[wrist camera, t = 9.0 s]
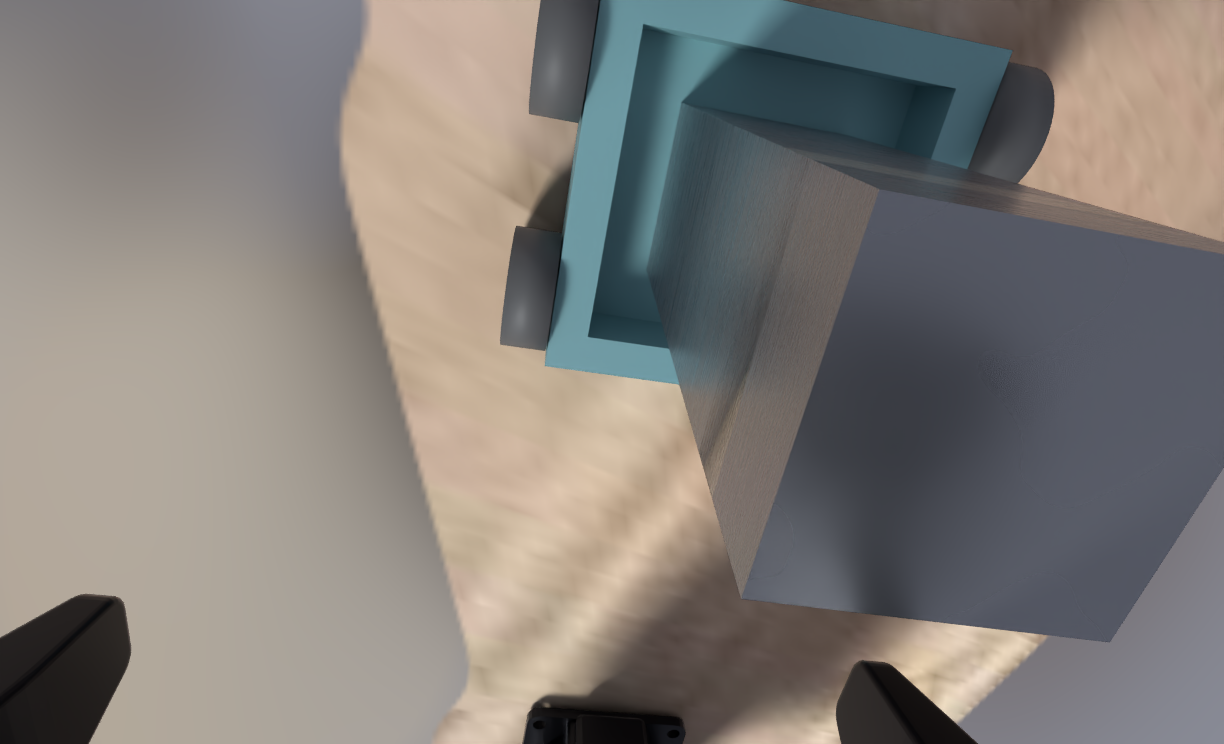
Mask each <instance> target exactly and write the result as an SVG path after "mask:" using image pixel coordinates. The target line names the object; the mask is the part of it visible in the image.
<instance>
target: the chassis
mask: <svg viewBox="0 0 1224 744" xmlns="http://www.w3.org/2000/svg"><path fill="white" fill-rule="evenodd" d="M1012 51H1013V50H1008V49H1004V48H999V47H995V46H990V45H985V44H981V43H976V42H972V41H967V40H963V39H958V38H953V37H949V36H944V35H940V34H935V33H930V32H926V31H921V30H917V29H912V28H907V27H903V26H898V25H894V24H889V23H885V22H880V21H875V20H871V19H866V18H862V17H857V16H852V15H848V14H843V13H839V12H834V11H830V10H825V9H820V8H816V7H811V6H807V5H802V4H797V3H793V2H788V1H784V0H541V2H540V9H539V17H538V24H537V32H536V41H535V49H534V58H533V67H532V77H531V87H530V100H529V114H533V115H538V116H543V117H549V118H554V119H560V120H565V121H570V122H576V123H578V130H577V137H576V143H575V150H574V157H573V163H572V170H571V177H570V183H569V190H568V197H567V203H566V210H565V216H564V223H563V230H562V233H558V232H552V231H546V230H540V229H534V228H528V227H521V226H516V228H515V233H514V238H513V244H512V250H511V256H510V262H509V269H508V276H507V284H506V291H505V299H504V307H503V316H502V325H501V337H500V344H501V345H507V346H514V347H521V348H528V349H535V350H542V351H545V349H546V357H545V366H549V367H556V368H563V369H571V370H578V371H585V372H592V373H600V374H607V375H614V376H622V377H629V378H636V379H643V380H651V381H658V382H665V383H672V384H679V381H678V378H677V374H676V371H675V367H674V364H673V360H672V357H671V353H670V350H669V346H668V343H667V339H666V336H665V332H664V329H663V326H662V322H661V319H660V315H659V312H658V308H657V305H656V301H655V298H654V294H653V291H652V287H651V284H650V280H649V277H648V273H647V270H646V269H647V264H648V259H649V255H650V250H651V245H652V240H653V235H654V231H655V226H656V221H657V216H658V212H659V207H660V202H661V197H662V192H663V188H664V183H665V178H666V173H667V168H668V164H669V159H670V154H671V149H672V145H673V140H674V135H675V130H676V125H677V121H678V116H679V111H680V106H681V103H686V104H692V105H697V106H702V107H707V108H712V109H717V110H722V111H727V112H732V113H737V114H742V115H747V116H753V117H758V118H763V119H768V120H773V121H778V122H783V123H788V124H793V125H798V126H803V127H808V128H814V129H819V130H824V131H829V132H834V133H839V134H844V135H848V136H852V137H855V138H859V139H862V140H866V141H869V142H873V143H876V144H880V145H883V146H887V147H890V148H894V149H897V150H901V151H904V152H908V153H912V154H915V155H919V156H922V157H926V158H929V159H933V160H936V161H940V162H943V163H947V164H950V165H954V166H957V167H961V168H964V169H968V170H971V171H975V172H978V173H982V174H985V175H989V176H992V177H996V178H999V179H1003V180H1006V181H1010V182H1013V183H1018V182H1019V181H1020V180H1021V179H1022V178H1023V177H1024V176H1025V175H1026V173H1027V172H1028V171H1029V169H1030V168H1031V167H1032V165H1033V164H1034V162H1035V161H1036V159H1037V157H1038V155H1039V154H1040V152H1041V150H1042V148H1043V146H1044V143H1045V141H1046V138H1047V136H1048V133H1049V130H1050V127H1051V123H1052V118H1053V113H1054V90H1053V86H1052V83H1051V81H1050V79H1049V77H1048V76H1047V74H1046V73H1045V72H1043V71H1042V70H1040V69H1038V68H1034V67H1029V66H1025V65H1020V64H1015V63H1011V62H1009V59H1010V57H1011V54H1012Z"/></svg>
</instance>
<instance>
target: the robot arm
mask: <svg viewBox="0 0 1224 744" xmlns="http://www.w3.org/2000/svg"><path fill="white" fill-rule="evenodd" d="M130 656H131V643H130V636H129V630H128V623H127V617H126V611H125V606H124V602H123V601H122V600H121V599H120V598H118V597H116V596H106V595H94V594H81V595H78V596H75V597H73V598H71V599H69V600H68V601H65V602H64V603H62V604H60V605H58V606H56V607H55V608H53V609H51V610H49V611H47V612H46V613H44V614H42V615H40V616H38V617H36V618H35V619H33V620H31V621H29V622H27V623H26V624H24V625H22V626H20V627H18V628H17V629H15V630H13V631H11V632H9V633H8V634H6V635H4V636H2V637H1V638H0V744H89V742H90V740H91V738H92V736H93V735H94V733H95V730H96V729H97V727H98V725H99V723H100V721H101V719H102V716H103V715H104V713H105V711H106V709H107V707H108V705H109V703H110V701H111V699H112V697H113V695H114V693H115V691H116V689H117V687H118V685H119V683H120V681H121V679H122V677H123V675H124V673H125V671H126V669H127V666H128V663H129V659H130ZM836 720H837V726H838V731H839V735H840V740H841V744H978V743H977V742H976V741H975V740H974V739H972V738H971V737H970V736H969V735H968V734H967V733H966V732H965V731H964V730H963V729H961V728H960V727H959V726H958V725H957V724H956V723H955V722H954V721H953V720H952V719H951V718H949V717H948V716H947V715H946V714H945V713H944V712H943V711H942V710H941V709H940V708H938V707H937V706H936V705H935V704H934V703H933V702H932V701H931V700H930V699H929V698H927V697H926V696H925V695H924V694H923V693H922V692H921V691H920V690H919V689H918V688H916V687H915V686H914V685H913V684H912V683H911V682H910V681H909V680H908V679H907V678H906V677H904V676H903V675H902V674H901V673H900V672H899V671H898V670H897V669H896V668H894V667H893V666H892V665H890V664H888V663H885V662H876V661H864V660H862V661H859V662H857V663H856V664H855V665H854V667H853V668H852V671H851V673H850V675H849V677H848V680H847V682H846V684H845V686H844V688H843V691H842V693H841V695H840V697H839V700H838V702H837V707H836ZM684 737H685V726H684V722H683V721H682V720H681V719H680V718H677V717H668V716H654V715H640V714H626V713H612V712H598V711H584V710H570V709H556V708H542V707H541V708H535V709H532V710H531V711H530V712H529V713H528V715H527V720H526V726H525V731H524V737H523V742H522V744H682V743H683V740H684Z"/></svg>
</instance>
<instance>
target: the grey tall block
mask: <svg viewBox="0 0 1224 744" xmlns="http://www.w3.org/2000/svg"><path fill="white" fill-rule="evenodd" d="M646 270H647V273H648V277H649V280H650V284H651V287H652V291H653V294H654V298H655V301H656V305H657V308H658V312H659V315H660V319H661V322H662V326H663V329H664V332H665V336H666V339H667V343H668V346H669V350H670V353H671V357H672V360H673V364H674V367H675V371H676V374H677V378H678V381H679V385H680V388H681V392H682V395H683V399H684V402H685V406H686V409H687V413H688V416H689V420H690V423H691V426H692V430H693V433H694V437H695V440H696V444H697V447H698V451H699V454H700V458H701V461H702V465H703V468H704V472H705V475H706V479H707V482H708V486H709V489H710V493H711V496H712V500H713V503H714V507H715V510H716V514H717V517H718V520H719V524H720V527H721V531H722V534H723V538H724V541H725V545H726V548H727V552H728V555H729V559H730V562H731V566H732V569H733V573H734V576H735V580H736V583H737V587H738V590H739V594H740V597H741V599H746V600H754V601H763V602H771V603H780V604H788V605H797V606H805V607H814V608H822V609H831V610H839V611H848V612H856V613H865V614H873V615H882V616H890V617H899V618H907V619H916V620H924V621H933V622H941V623H949V624H958V625H966V626H975V627H983V628H992V629H1000V630H1009V631H1017V632H1026V633H1034V634H1043V635H1051V636H1060V637H1068V638H1077V639H1085V640H1094V641H1102V642H1110V641H1111V640H1112V638H1113V636H1114V635H1115V634H1116V632H1117V630H1118V629H1119V627H1120V626H1121V624H1122V623H1123V621H1124V620H1125V618H1126V617H1127V615H1128V613H1129V612H1130V611H1131V609H1132V607H1133V606H1134V604H1135V603H1136V601H1137V600H1138V598H1139V597H1140V595H1141V594H1142V592H1143V591H1144V589H1145V587H1146V586H1147V584H1148V583H1149V581H1150V580H1151V578H1152V577H1153V575H1154V574H1155V572H1156V571H1157V569H1158V568H1159V566H1160V564H1161V563H1162V561H1163V560H1164V558H1165V557H1166V555H1167V554H1168V552H1169V551H1170V549H1171V548H1172V546H1173V545H1174V543H1175V541H1176V540H1177V538H1178V537H1179V535H1180V534H1181V532H1182V531H1183V529H1184V528H1185V526H1186V525H1187V523H1188V522H1189V520H1190V518H1191V517H1192V515H1193V514H1194V512H1195V511H1196V509H1197V508H1198V506H1199V504H1200V503H1201V502H1202V500H1203V498H1204V497H1205V495H1206V494H1207V492H1208V491H1209V489H1210V488H1211V486H1212V485H1213V483H1214V481H1215V480H1216V478H1217V477H1218V475H1219V474H1220V472H1221V471H1222V469H1223V468H1224V242H1221V241H1217V240H1214V239H1210V238H1207V237H1203V236H1200V235H1196V234H1193V233H1189V232H1186V231H1182V230H1179V229H1175V228H1172V227H1168V226H1165V225H1161V224H1157V223H1154V222H1150V221H1147V220H1143V219H1140V218H1136V217H1133V216H1129V215H1126V214H1122V213H1119V212H1115V211H1112V210H1108V209H1105V208H1101V207H1098V206H1094V205H1091V204H1087V203H1084V202H1080V201H1077V200H1073V199H1070V198H1066V197H1063V196H1059V195H1056V194H1052V193H1049V192H1045V191H1042V190H1038V189H1035V188H1031V187H1027V186H1024V185H1020V184H1017V183H1013V182H1010V181H1006V180H1003V179H999V178H996V177H992V176H989V175H985V174H982V173H978V172H975V171H971V170H968V169H964V168H961V167H957V166H954V165H950V164H947V163H943V162H940V161H936V160H933V159H929V158H926V157H922V156H919V155H915V154H912V153H908V152H904V151H901V150H897V149H894V148H890V147H887V146H883V145H880V144H876V143H873V142H869V141H866V140H862V139H859V138H855V137H852V136H848V135H844V134H839V133H834V132H829V131H824V130H819V129H814V128H808V127H803V126H798V125H793V124H788V123H783V122H778V121H773V120H768V119H763V118H758V117H753V116H747V115H742V114H737V113H732V112H727V111H722V110H717V109H712V108H707V107H702V106H697V105H692V104H686V103H681V106H680V111H679V116H678V121H677V125H676V130H675V135H674V140H673V145H672V149H671V154H670V159H669V164H668V168H667V173H666V178H665V183H664V188H663V192H662V197H661V202H660V207H659V212H658V216H657V221H656V226H655V231H654V235H653V240H652V245H651V250H650V255H649V259H648V264H647V269H646Z"/></svg>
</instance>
